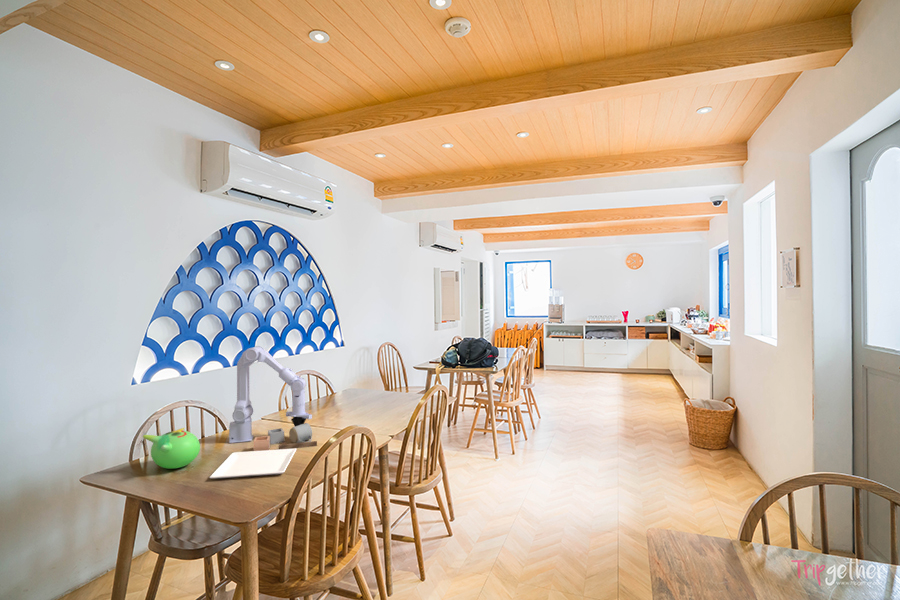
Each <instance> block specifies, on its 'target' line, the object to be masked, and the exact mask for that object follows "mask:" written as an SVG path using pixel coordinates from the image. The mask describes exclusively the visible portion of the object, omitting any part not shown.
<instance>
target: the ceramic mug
mask: <svg viewBox="0 0 900 600" xmlns="http://www.w3.org/2000/svg"><path fill="white" fill-rule="evenodd" d="M288 431H289V433H288V436H289V440H290V441H291V442H292V444H293V443H302V442H312V439H313V437H312V436H313V429H312V427H311V425H310V424H309V423H308V422H304V424H301V425H298V426H292V428H290V430H288Z"/></svg>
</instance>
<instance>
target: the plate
mask: <svg viewBox="0 0 900 600" xmlns="http://www.w3.org/2000/svg"><path fill="white" fill-rule="evenodd" d="M297 449H298V448H292V449H279V448H278V449H269V450H264V451H254V450H251V451H235V452H232V453H231V454H230V455H228V457H227V458H226V459H225V460H224V461H223V462H222V463H221V464H220V465H219V466H218V467H217V468H216V470H214V472H213V473H212V474H211V475H210V476H209V478H210V479H229V478H239V477H240V478H241V477H242V478H243V477H245V478H246V477H258V476H268V475H269V476H270V475H272V476H273V475H280V474H284V473H285V471H286V469H287V467H288V466H289V464H290V462H291V460H292V459H293V457H294V455H295V453H296V451H297Z"/></svg>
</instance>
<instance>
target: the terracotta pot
mask: <svg viewBox="0 0 900 600" xmlns="http://www.w3.org/2000/svg"><path fill="white" fill-rule="evenodd" d="M253 439H254V440H253V451H264V450H271V449H270V448H271V445H270V436H268V435H264V436H263V435H262V436H256V437H254V438H253Z"/></svg>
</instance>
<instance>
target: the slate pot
mask: <svg viewBox="0 0 900 600" xmlns="http://www.w3.org/2000/svg"><path fill="white" fill-rule="evenodd" d="M267 436H270V446H271V445H275V444H282V443H283V444H284V443H285V431H284V429H283V428H275V429H267Z"/></svg>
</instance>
